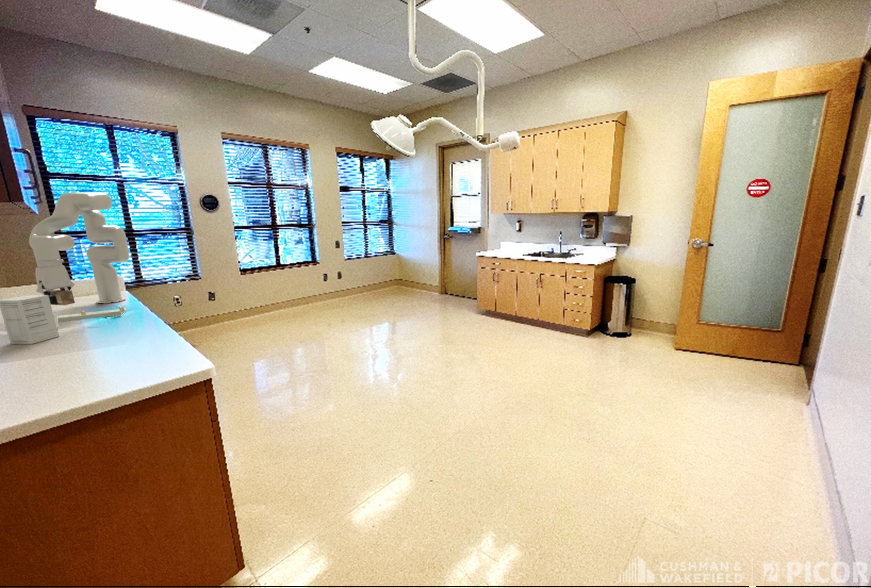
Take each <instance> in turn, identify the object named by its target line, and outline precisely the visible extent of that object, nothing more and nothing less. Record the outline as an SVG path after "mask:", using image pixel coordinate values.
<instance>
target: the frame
mask: <svg viewBox="0 0 871 588" xmlns="http://www.w3.org/2000/svg"><path fill="white" fill-rule="evenodd" d="M54 296H56V299H57V303H58V304H57V305H56V306H68V305H72V304H75V303H76V301H75V297H74V294H73V291H72V289H71V290H60V289H54Z"/></svg>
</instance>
